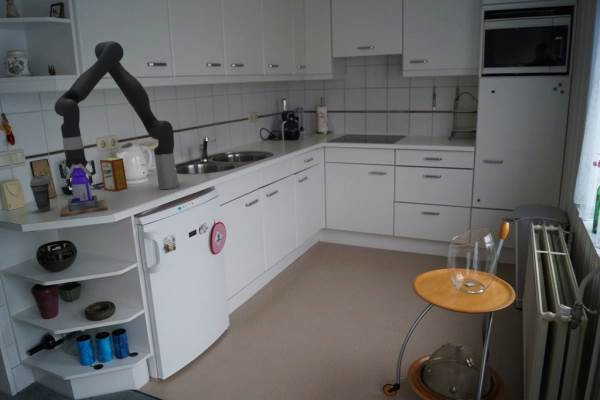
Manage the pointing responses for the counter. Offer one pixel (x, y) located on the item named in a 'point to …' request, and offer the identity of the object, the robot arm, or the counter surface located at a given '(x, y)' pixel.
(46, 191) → the beverage cup
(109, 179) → the baking soda box
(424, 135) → the counter surface
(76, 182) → the bottle
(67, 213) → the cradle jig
